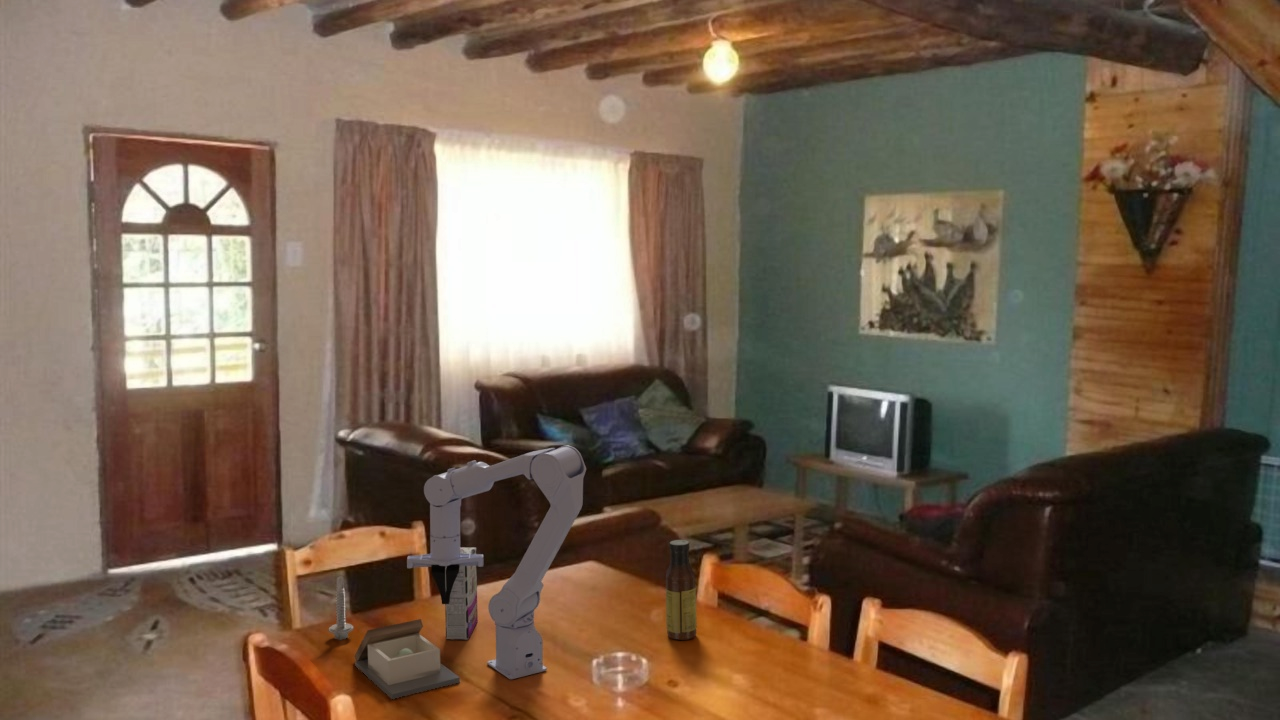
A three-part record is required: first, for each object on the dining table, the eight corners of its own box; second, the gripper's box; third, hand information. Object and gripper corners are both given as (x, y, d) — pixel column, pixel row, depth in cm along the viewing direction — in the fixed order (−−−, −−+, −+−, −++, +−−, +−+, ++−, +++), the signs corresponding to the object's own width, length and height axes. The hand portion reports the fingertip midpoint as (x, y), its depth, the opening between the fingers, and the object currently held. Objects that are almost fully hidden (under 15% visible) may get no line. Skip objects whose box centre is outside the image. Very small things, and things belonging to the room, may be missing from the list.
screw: (354, 633, 217) (352, 641, 212) (330, 634, 216) (327, 642, 212) (353, 571, 216) (350, 579, 211) (329, 572, 215) (326, 580, 210)
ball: (416, 665, 196) (415, 649, 196) (400, 668, 194) (400, 652, 194) (409, 660, 198) (409, 644, 198) (394, 663, 197) (394, 647, 196)
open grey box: (440, 672, 195) (440, 649, 194) (388, 685, 189) (388, 660, 188) (418, 655, 203) (417, 633, 202) (368, 667, 197) (367, 643, 196)
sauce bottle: (697, 631, 220) (698, 538, 218) (695, 642, 214) (697, 546, 212) (666, 629, 220) (667, 537, 218) (663, 640, 214) (664, 545, 212)
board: (459, 682, 193) (459, 677, 192) (392, 699, 185) (392, 694, 185) (419, 652, 207) (419, 647, 207) (355, 666, 200) (355, 661, 200)
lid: (423, 626, 201) (419, 614, 202) (369, 637, 195) (366, 625, 196) (408, 651, 207) (404, 639, 209) (356, 663, 201) (353, 651, 203)
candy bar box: (454, 621, 225) (454, 546, 223) (478, 621, 224) (477, 546, 223) (443, 640, 213) (443, 561, 212) (468, 641, 213) (467, 562, 212)
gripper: (405, 540, 199) (405, 610, 200) (482, 539, 201) (482, 608, 202) (408, 530, 206) (409, 598, 207) (483, 529, 208) (483, 596, 209)
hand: (445, 602), depth 205 cm, fingers closed
